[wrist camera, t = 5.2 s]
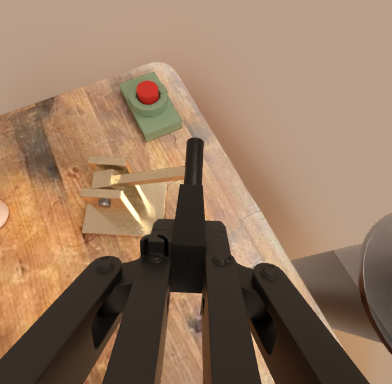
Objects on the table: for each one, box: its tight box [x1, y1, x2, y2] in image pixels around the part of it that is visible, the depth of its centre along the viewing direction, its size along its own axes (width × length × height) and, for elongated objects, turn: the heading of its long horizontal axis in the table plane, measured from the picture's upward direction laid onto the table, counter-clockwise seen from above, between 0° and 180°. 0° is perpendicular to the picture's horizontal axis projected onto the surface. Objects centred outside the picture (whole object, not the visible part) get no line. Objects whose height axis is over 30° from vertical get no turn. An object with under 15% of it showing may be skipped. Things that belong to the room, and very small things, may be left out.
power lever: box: [91, 138, 204, 192], centre depth 28 cm, size 13×7×2 cm, turn 87°
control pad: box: [119, 72, 182, 142], centre depth 45 cm, size 12×7×4 cm, turn 27°
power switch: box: [80, 156, 168, 238], centre depth 34 cm, size 12×9×13 cm
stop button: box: [136, 81, 159, 105], centre depth 43 cm, size 4×4×2 cm
